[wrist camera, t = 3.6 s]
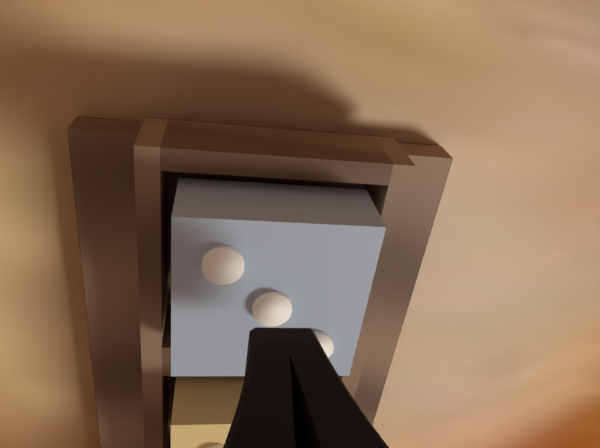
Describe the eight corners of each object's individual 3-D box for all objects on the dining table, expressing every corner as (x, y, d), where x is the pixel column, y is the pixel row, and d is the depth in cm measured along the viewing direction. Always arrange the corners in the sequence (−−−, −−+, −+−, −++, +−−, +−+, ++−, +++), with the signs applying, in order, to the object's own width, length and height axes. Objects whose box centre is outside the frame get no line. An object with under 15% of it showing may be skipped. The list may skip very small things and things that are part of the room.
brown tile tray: (335, 513, 26) (347, 576, 24) (115, 525, 24) (102, 595, 22) (445, 131, 16) (487, 171, 13) (75, 99, 14) (41, 139, 11)
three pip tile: (336, 328, 16) (350, 380, 14) (177, 326, 15) (170, 382, 14) (366, 189, 14) (388, 231, 12) (178, 177, 13) (170, 221, 11)
